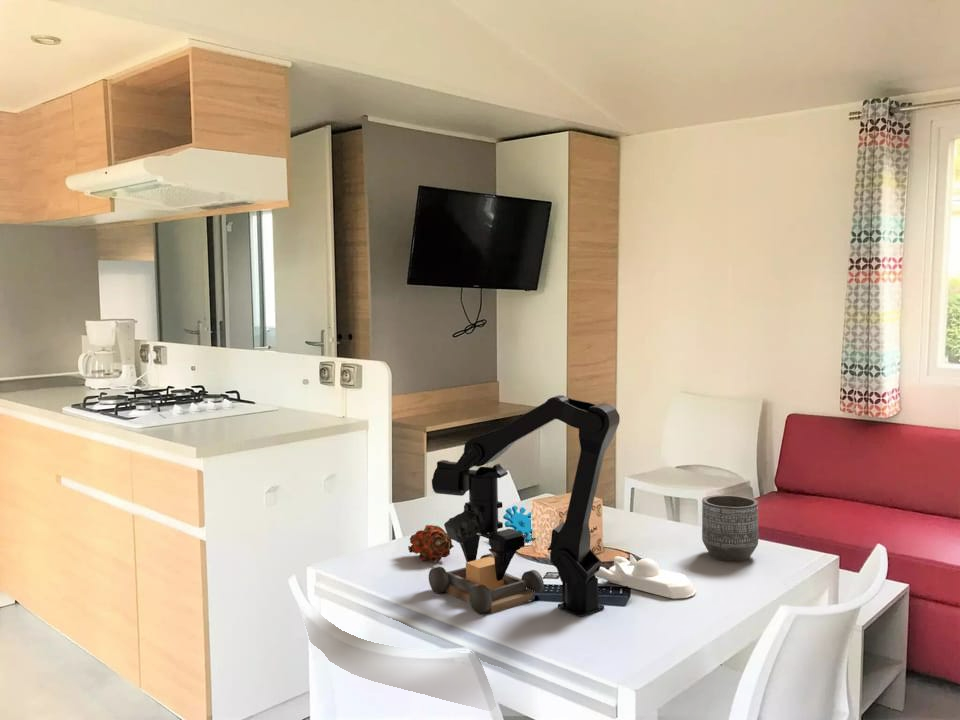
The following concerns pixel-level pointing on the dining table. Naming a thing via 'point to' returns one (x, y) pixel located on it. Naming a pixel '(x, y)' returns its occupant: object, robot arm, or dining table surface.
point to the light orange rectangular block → (483, 573)
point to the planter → (730, 526)
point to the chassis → (480, 594)
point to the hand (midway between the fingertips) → (485, 574)
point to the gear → (519, 521)
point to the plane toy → (647, 578)
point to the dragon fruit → (431, 543)
